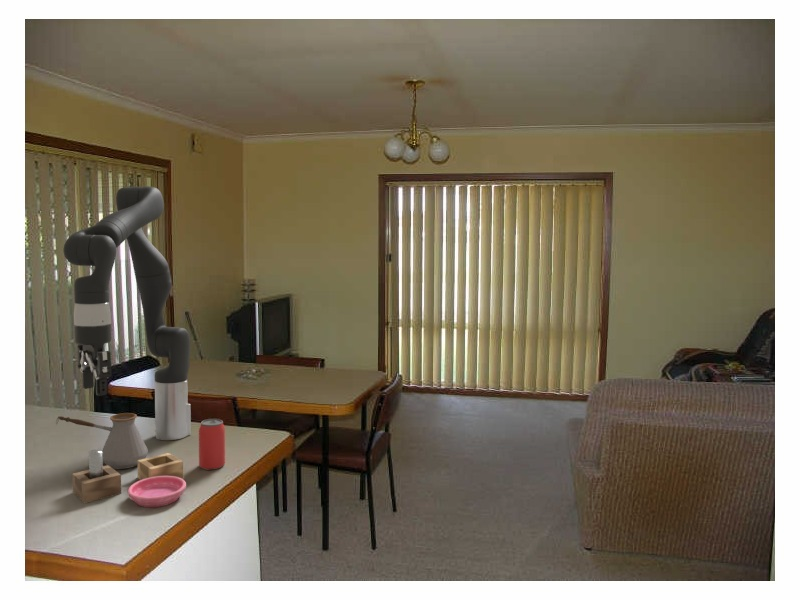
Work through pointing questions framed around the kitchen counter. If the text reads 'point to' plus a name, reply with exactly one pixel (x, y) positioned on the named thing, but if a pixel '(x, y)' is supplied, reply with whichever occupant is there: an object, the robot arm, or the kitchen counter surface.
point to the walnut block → (96, 484)
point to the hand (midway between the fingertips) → (94, 391)
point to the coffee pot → (119, 441)
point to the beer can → (211, 444)
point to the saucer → (157, 490)
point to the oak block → (160, 466)
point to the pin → (95, 463)
